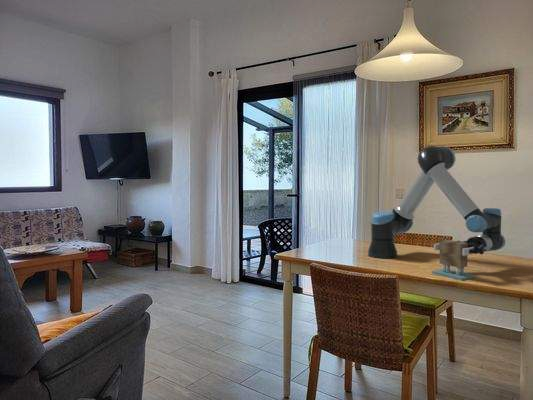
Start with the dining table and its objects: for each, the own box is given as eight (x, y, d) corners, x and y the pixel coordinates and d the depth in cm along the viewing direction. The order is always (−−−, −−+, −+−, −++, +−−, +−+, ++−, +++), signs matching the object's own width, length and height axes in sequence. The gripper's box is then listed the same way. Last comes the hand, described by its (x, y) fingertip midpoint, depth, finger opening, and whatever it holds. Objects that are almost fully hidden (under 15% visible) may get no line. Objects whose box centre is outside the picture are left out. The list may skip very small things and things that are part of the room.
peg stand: (432, 273, 175) (432, 263, 174) (445, 270, 179) (445, 260, 179) (461, 280, 163) (461, 269, 162) (474, 277, 167) (475, 266, 167)
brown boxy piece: (439, 263, 174) (439, 240, 173) (446, 262, 176) (446, 239, 176) (460, 267, 165) (460, 243, 165) (467, 266, 167) (467, 242, 167)
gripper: (506, 257, 169) (476, 263, 158) (453, 248, 190) (423, 253, 180) (507, 239, 168) (476, 245, 158) (453, 232, 190) (423, 236, 179)
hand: (448, 249), depth 169 cm, fingers open, 13 cm apart
